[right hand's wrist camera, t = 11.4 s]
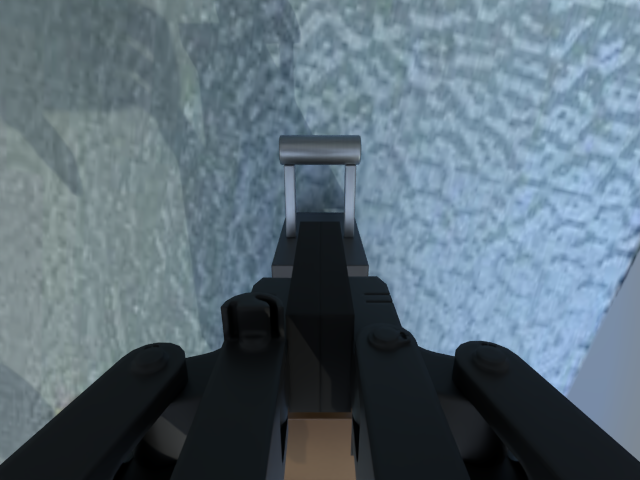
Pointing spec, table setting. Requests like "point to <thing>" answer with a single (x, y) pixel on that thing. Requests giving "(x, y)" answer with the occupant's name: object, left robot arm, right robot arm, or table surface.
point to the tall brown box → (319, 446)
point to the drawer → (319, 153)
